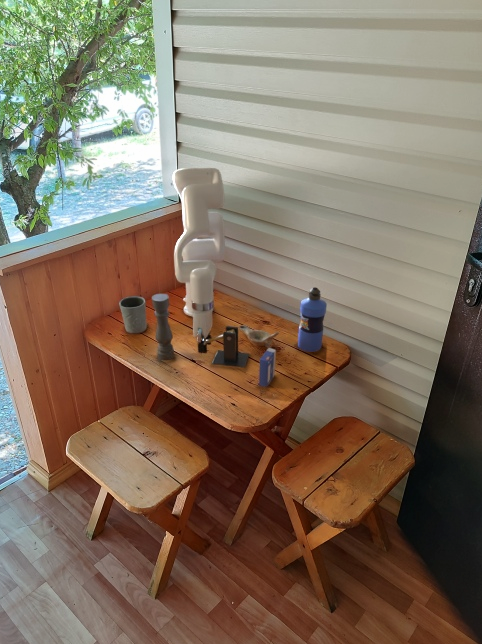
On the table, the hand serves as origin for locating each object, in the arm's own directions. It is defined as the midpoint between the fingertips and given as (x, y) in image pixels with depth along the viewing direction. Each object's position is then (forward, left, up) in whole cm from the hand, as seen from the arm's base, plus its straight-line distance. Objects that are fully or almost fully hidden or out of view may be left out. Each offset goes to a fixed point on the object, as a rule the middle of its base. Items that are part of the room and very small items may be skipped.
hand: (204, 347), depth 174 cm
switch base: (+8, +6, -4) cm, 11 cm away
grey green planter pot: (-36, -6, -5) cm, 37 cm away
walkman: (+26, +6, -5) cm, 27 cm away
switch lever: (+5, +3, +4) cm, 7 cm away
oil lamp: (+6, +22, -5) cm, 23 cm away
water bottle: (+22, +34, -5) cm, 40 cm away
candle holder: (-10, -10, -5) cm, 15 cm away
